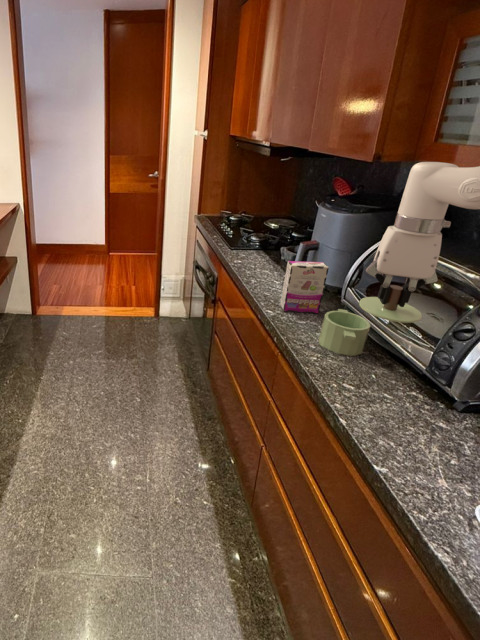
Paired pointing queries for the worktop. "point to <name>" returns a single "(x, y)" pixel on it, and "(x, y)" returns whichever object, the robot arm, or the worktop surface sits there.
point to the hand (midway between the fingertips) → (391, 302)
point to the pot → (344, 332)
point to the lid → (391, 307)
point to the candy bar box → (303, 286)
